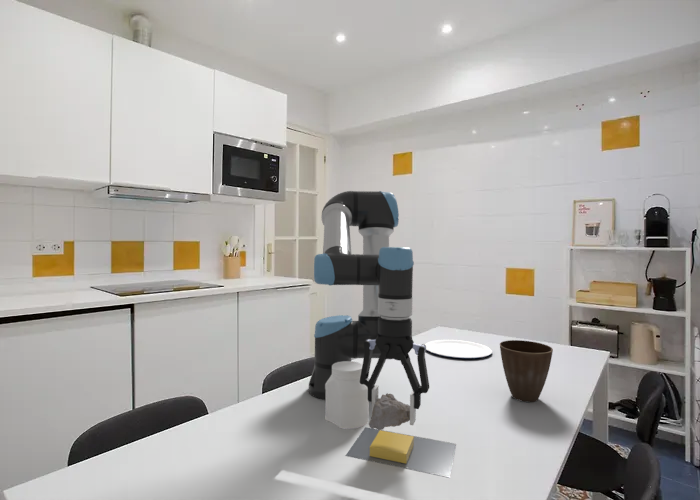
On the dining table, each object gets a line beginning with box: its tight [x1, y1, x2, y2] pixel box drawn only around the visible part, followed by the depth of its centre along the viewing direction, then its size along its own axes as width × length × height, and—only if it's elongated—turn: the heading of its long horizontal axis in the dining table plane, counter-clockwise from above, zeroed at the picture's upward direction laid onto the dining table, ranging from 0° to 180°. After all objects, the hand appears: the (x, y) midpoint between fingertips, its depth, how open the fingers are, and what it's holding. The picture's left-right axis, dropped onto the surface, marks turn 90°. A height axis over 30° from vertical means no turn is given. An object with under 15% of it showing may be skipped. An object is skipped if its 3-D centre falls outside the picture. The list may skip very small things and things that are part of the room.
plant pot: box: [499, 339, 554, 403], centre depth 121 cm, size 15×15×16 cm
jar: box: [324, 360, 370, 430], centre depth 103 cm, size 12×10×15 cm
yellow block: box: [370, 430, 415, 463], centre depth 87 cm, size 8×2×8 cm
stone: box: [368, 393, 410, 430], centre depth 87 cm, size 10×8×6 cm
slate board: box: [345, 426, 457, 479], centre depth 88 cm, size 22×14×1 cm, turn 70°
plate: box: [424, 339, 493, 360], centre depth 174 cm, size 29×29×2 cm
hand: (393, 419), depth 87 cm, fingers closed on stone, 8 cm apart
